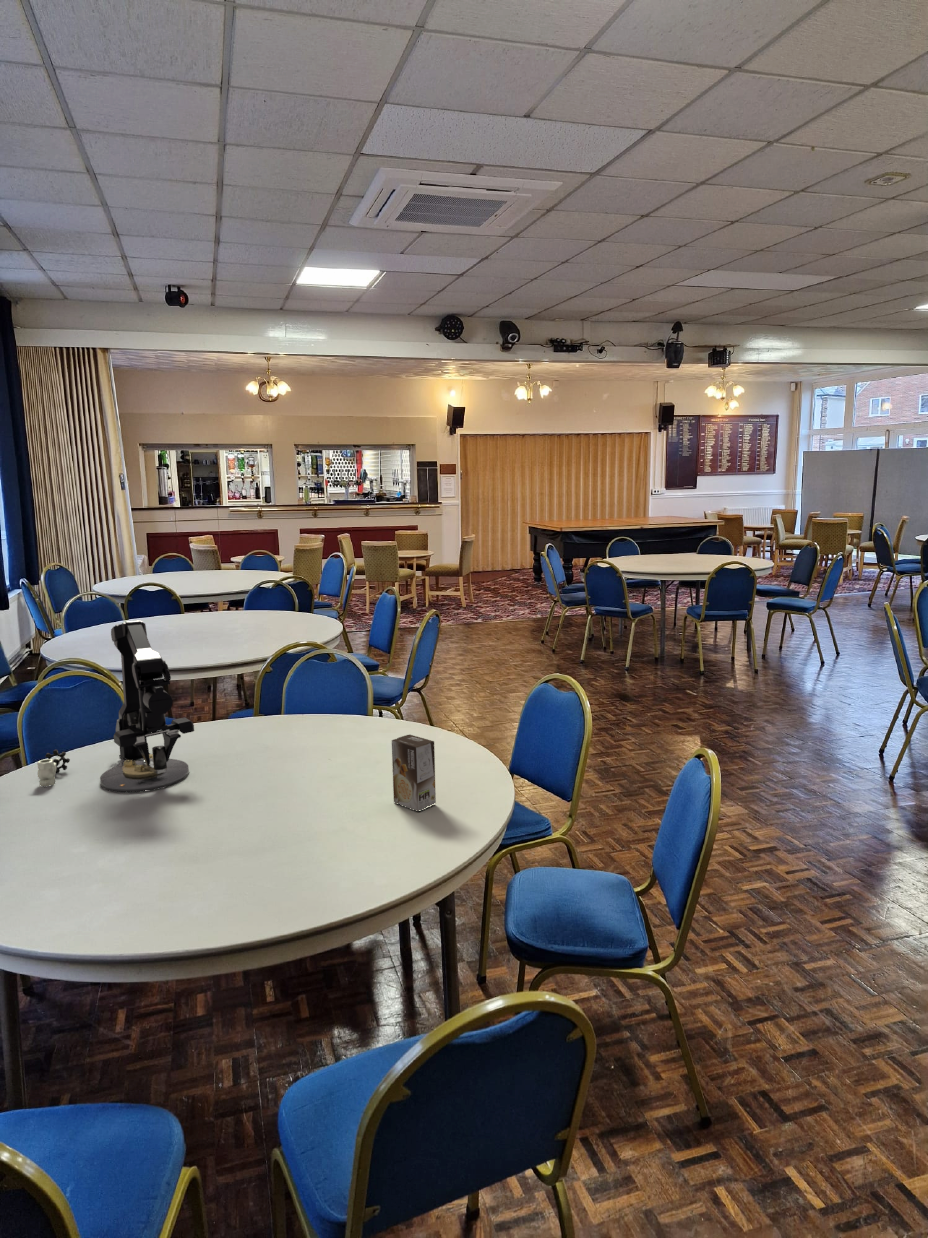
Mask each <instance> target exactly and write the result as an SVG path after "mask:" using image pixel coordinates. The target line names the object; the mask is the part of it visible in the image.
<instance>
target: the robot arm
mask: <svg viewBox="0 0 928 1238" xmlns="http://www.w3.org/2000/svg"><path fill="white" fill-rule="evenodd" d="M110 636H111V641H112V642H113V645H114V647H115V648H116V649H117V651H119V653H120V657H121V659H120V660H121V661H120V662H121V671H122V672H121V673H122V690H123V704H122V705H121V707H120V709H119V710H118V719H116V723H115V724H116V725H115V732H114V734H113V743H114V744H116V745H117V746H118V747H119V754H118V757H119V758H122V759H124V760H125V761H126V760H132V761H135V760H138V759H142V758H144V760H145V762H146V764H147V766H150V757H149V754H151V753H150V749H149V743H148V742H147V741H148V739H147V738H148V737H153V736H157V735H162V738H163V746H165V748H166V762H168V760H169V759H170V756H171V754H172V752H173V748H174V747H175V744H176V742H178V741H177V740H178V739H180V738H181V737H182V736H181V734H180V733H182V734H188V733H193V732H195V724H194V722H193V721H192V720H190V719H188V718H186V717H180V718H176V719H172V720H171V722H170V723H171V724H167V722H166V721H167V720H166V714H167V713H168V712H169V711H170V710H171V708H172V707H173V698H172V696H171V695H170V694H169V693H168V692H167V691H166V690H165V686H169V685H171V679H172V676H171V673H170V669H169V666H168V663H166V660H164V659H163V658H162V656H161V653H160V652H158V651H156V650H154V649H153V648H152V646H151V643H150V641H149V639H148V634H147V626H146V623H145V622H144V620H140V619H137V620H127V621H124V622H122V623H121V624H115V625H114V626H112V628H111V629H110ZM179 732H180V733H179Z"/></svg>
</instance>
